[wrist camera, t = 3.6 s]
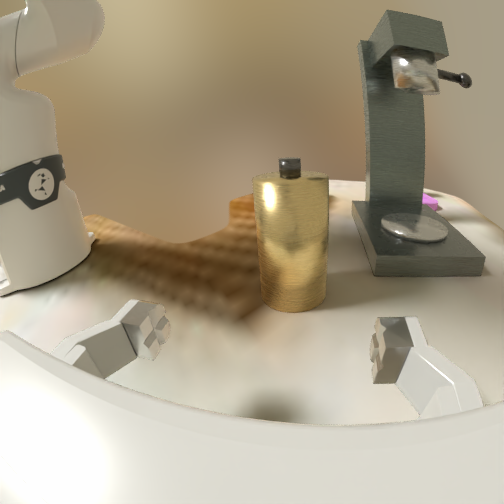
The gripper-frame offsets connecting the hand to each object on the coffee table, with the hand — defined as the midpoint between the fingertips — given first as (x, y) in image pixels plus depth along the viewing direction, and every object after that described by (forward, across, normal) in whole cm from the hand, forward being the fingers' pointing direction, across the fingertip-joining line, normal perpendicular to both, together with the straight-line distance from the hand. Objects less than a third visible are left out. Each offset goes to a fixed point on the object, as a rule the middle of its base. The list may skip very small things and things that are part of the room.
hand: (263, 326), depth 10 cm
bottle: (+10, 0, +6) cm, 12 cm away
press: (+22, -17, +5) cm, 29 cm away
